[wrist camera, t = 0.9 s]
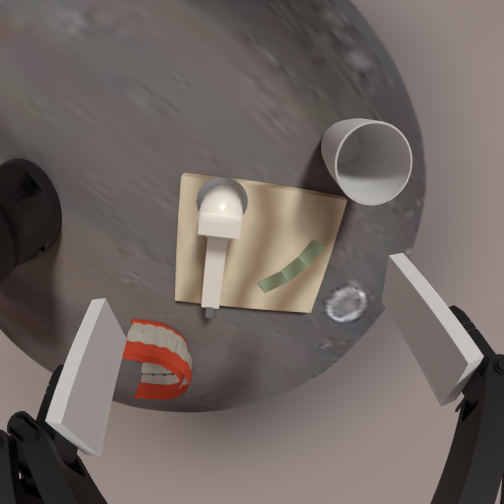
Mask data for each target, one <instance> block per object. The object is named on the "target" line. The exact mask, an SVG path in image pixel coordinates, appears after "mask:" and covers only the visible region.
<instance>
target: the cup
mask: <svg viewBox="0 0 504 504" xmlns="http://www.w3.org/2000/svg"><path fill="white" fill-rule="evenodd" d="M321 153H322V157H323V160H324V162H325V164H326V166H327V169H328V171H329V173H330V174H331V176H332V177H333V178H334V180H335V181H336V182H337V184H338V185H339V186H340V187H341V189H342V190H343V191H344V193H345V194H346V195H347V196H348V197H349V198H351V199H352V200H354V201H356V202H358V203H361V204H364V205H378V204H382V203H385V202H387V201H389V200H391V199H393V198H394V197H395V196H397V195H398V194H399V193H400V192H401V191H402V189H403V188H404V187H405V185H406V183H407V181H408V179H409V177H410V174H411V169H412V153H411V149H410V146H409V143H408V141H407V139H406V138H405V136H404V135H403V134H402V133H401V132H400V131H399V130H398V129H397V128H396V127H394V126H392V125H390V124H388V123H385V122H381V121H374V120H367V119H350V120H344V121H340V122H337V123H335V124H334V125H332V126H331V127H330V128H329V129H328V130H327V131H326V132H325V134H324V136H323V138H322V143H321Z"/></svg>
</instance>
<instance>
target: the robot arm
mask: <svg viewBox="0 0 504 504" xmlns="http://www.w3.org/2000/svg"><path fill="white" fill-rule="evenodd" d="M60 226H61V209H60V203H59V199H58V196H57V193H56V191H55V188H54V186H53V184H52V183H51V181H50V179H49V178H48V176H47V175H46V174H45V173H44V172H43V171H42V169H40V168H39V167H38V166H37V165H35V164H34V163H32V162H30V161H28V160H25V159H12V160H9V161H7V162H5V163H3V164H1V165H0V285H1V284H2V283H3V281H4V280H5V279H6V278H7V277H8V275H9V274H10V273H11V272H12V271H13V269H14V268H15V267H16V266H18V265H21V264H23V263H25V262H28V261H30V260H32V259H35V258H37V257H39V256H41V255H42V254H44V253H45V252H46V251H47V250H48V249H49V247H50V246H51V245H52V244H53V243H54V242H55V240H56V238H57V236H58V234H59V230H60ZM382 303H383V304H384V306H385V308H386V309H387V311H388V312H389V314H390V316H391V317H392V319H393V321H394V322H395V324H396V326H397V327H398V329H399V331H400V332H401V334H402V336H403V337H404V339H405V341H406V342H407V344H408V346H409V348H410V349H411V351H412V353H413V355H414V357H415V358H416V360H417V362H418V364H419V366H420V367H421V369H422V371H423V373H424V375H425V377H426V378H427V380H428V382H429V384H430V386H431V388H432V390H433V392H434V394H435V396H436V398H437V400H438V401H439V403H440V405H441V406H444V405H446V404H448V403H450V402H452V401H454V400H456V399H457V397H458V396H459V395H460V393H461V392H462V393H463V395H464V398H463V400H462V401H461V403H460V404H459V405H458V406H457V408H456V410H455V412H458V410H459V409H460V408H461V410H460V414H459V419H458V423H457V426H456V430H455V434H454V438H453V442H452V445H451V448H450V452H449V455H448V458H447V461H446V464H445V467H444V470H443V473H442V476H441V479H440V481H439V484H438V487H437V489H436V491H435V494H434V497H433V499H432V501H431V504H495V500H496V497H497V494H498V490H499V486H500V483H501V479H502V488H501V501H500V504H504V355H502V354H497V355H496V354H495V352H494V351H493V350H492V349H491V347H490V346H489V344H488V343H487V341H486V340H485V339H484V337H483V336H482V335H481V333H480V332H479V331H478V329H476V327H475V325H474V324H473V323H472V322H471V320H470V319H469V318H468V316H467V315H466V314H465V312H463V311H462V310H461V309H459V308H458V307H456V306H455V305H454V306H451V307H447V305H446V304H445V303H444V301H443V300H442V299H441V298H440V296H439V295H438V294H437V293H436V291H435V290H434V289H433V288H432V287H431V285H430V284H429V283H428V282H427V281H426V279H425V278H424V277H423V276H422V275H421V273H420V272H419V271H418V270H417V269H416V268H415V267H414V265H413V264H412V263H411V262H410V261H409V260H408V258H407V257H406V256H405V255H404V254H403V253H400V254H395V255H389V259H388V266H387V273H386V279H385V285H384V291H383V296H382ZM126 341H127V339H126V337H125V335H124V333H123V331H122V329H121V327H120V326H119V324H118V322H117V320H116V318H115V316H114V314H113V312H112V310H111V308H110V306H109V304H108V302H107V300H106V298H104V299H95V300H92V302H91V304H90V306H89V308H88V310H87V313H86V315H85V317H84V319H83V321H82V324H81V326H80V328H79V331H78V333H77V335H76V338H75V340H74V342H73V345H72V347H71V350H70V352H69V355H68V357H67V360H66V362H65V365H59V366H58V367H57V369H56V370H55V371H54V373H53V374H52V377H51V379H50V382H49V386H48V387H47V390H46V394H45V395H44V398H43V401H42V404H41V407H40V410H39V413H38V416H37V420H36V421H35V420H34V419H33V418H32V417H31V416H30V415H29V414H28V413H26V412H24V411H19V412H17V413H15V414H14V415H13V416H12V417H11V418H10V420H9V422H8V425H7V432H8V434H10V435H11V436H9V435H8V434H7V433H6V432H5V431H3V430H0V504H107V502H106V500H105V499H104V497H103V496H102V494H101V493H100V491H99V490H98V488H97V486H96V485H95V483H94V481H93V480H92V478H91V477H90V475H89V473H88V471H87V469H86V468H85V466H84V464H83V462H82V460H81V459H80V457H79V456H78V455H77V450H78V449H79V450H81V451H82V452H83V453H84V454H87V455H93V456H100V457H101V454H102V448H103V442H104V436H105V431H106V426H107V421H108V416H109V411H110V406H111V402H112V397H113V393H114V388H115V384H116V380H117V376H118V372H119V368H120V364H121V360H122V356H123V352H124V348H125V345H126ZM19 473H20V474H21V479H19Z"/></svg>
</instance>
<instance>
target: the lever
mask: <svg viewBox="0 0 504 504" xmlns="http://www.w3.org/2000/svg"><path fill="white" fill-rule="evenodd" d="M197 222H198V234H200V235H204V236H206V237H207V238H208V240H207V250H206V260H205V271H204V281H203V293H202V305H201V307H206V314H205V318H213V312H214V308H217V309H219V302H220V295H221V287H222V279H223V272H224V265H225V257H226V250H227V243H228V240H231V239H233V238H235V239H240V233H241V229H242V227H243V209H242V199H241V196H240V194H239V192H238V191H237V190H236V189H235V188H234V187H232V186H230V185H227V184H217V185H214V186H212V187H210V188H209V189H208V190H207V191H206V192H205V194H204V196H203V199H202V202H201V206H200V210H199V214H198V218H197Z"/></svg>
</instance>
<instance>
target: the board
mask: <svg viewBox="0 0 504 504" xmlns="http://www.w3.org/2000/svg"><path fill="white" fill-rule="evenodd" d="M217 184H227V185H230V186H232V187H234V188H235V189H236V190H237V191H238V192H239V194H240V196H241V199H242V209H243V227H242V229H241V233H240V239H235V238H233V239H231V240H228V243H227V250H226V257H225V265H224V272H223V279H222V287H221V295H220V302H219V305H220V306H230V307H241V308H252V309H264V310H277V311H291V312H306V313H311V310H312V308H313V305H314V302H315V299H316V297H317V294H318V291H319V288H320V285H321V282H322V279H323V276H324V273H325V270H326V267H327V264H328V261H329V258H330V255H331V252H332V249H333V246H334V243H335V240H336V236H337V233H338V230H339V227H340V223H341V220H342V217H343V213H344V210H345V207H346V203H347V200H346V199H345V198H344V197H343V196H340V195H335V194H329V193H324V192H318V191H313V190H307V189H301V188H295V187H289V186H282V185H276V184H269V183H263V182H256V181H248V180H241V179H233V178H227V177H217V176H208V175H199V174H190V173H183V175H182V177H181V188H180V201H179V216H178V233H177V254H176V286H175V301H183V302H192V303H201V304H202V293H203V281H204V271H205V260H206V250H207V240H208V238H207V237H206V236H204V235H200V234H198V222H197V218H198V214H199V210H200V206H201V202H202V199H203V196H204V194H205V192H206V191H207V190H208V189H209V188H210V187H212V186H214V185H217Z"/></svg>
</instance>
